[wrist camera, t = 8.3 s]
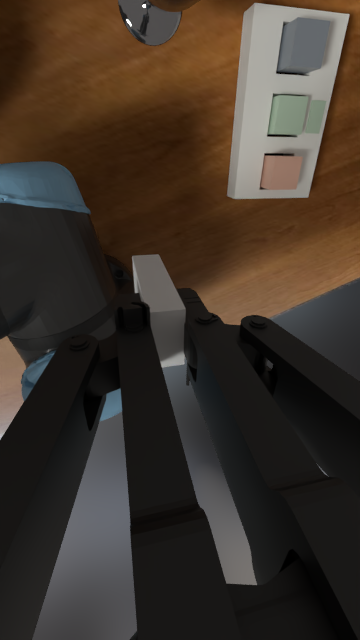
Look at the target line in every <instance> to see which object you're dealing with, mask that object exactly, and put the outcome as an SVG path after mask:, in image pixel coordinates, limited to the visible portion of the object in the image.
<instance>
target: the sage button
mask: <svg viewBox="0 0 360 640" xmlns="http://www.w3.org/2000/svg"><path fill="white" fill-rule="evenodd" d="M308 98H309V97H305V96H287V95H278V96H275V97H273V98H272V105H271V112H270V118H269V125H268V132H267V135H301V134H302V129H303V124H304V119H305V114H306V108H307V103H308Z"/></svg>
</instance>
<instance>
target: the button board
mask: <svg viewBox="0 0 360 640" xmlns="http://www.w3.org/2000/svg"><path fill="white" fill-rule="evenodd" d="M349 15H350V14H343V13H335V12H327V11H319V10H310V9H302V8H294V7H286V6H278V5H269V4H261V3H254V4H253V5H252V6H251V7H250V8H249V9H248V10H246V11H245V12H244V17H243V27H242V38H241V49H240V60H239V71H238V82H237V93H236V104H235V114H234V125H233V136H232V147H231V158H230V169H229V180H228V190H227V196H229V197H231V198H233V199H260V198H308V196H309V192H310V187H311V183H312V179H313V174H314V170H315V165H316V161H317V157H318V152H319V148H320V143H321V139H322V134H323V130H324V126H325V121H326V117H327V112H328V108H329V104H330V99H331V95H332V90H333V86H334V81H335V77H336V73H337V68H338V64H339V59H340V55H341V51H342V46H343V42H344V37H345V33H346V28H347V24H348V20H349ZM297 17H301V18H310V19H318V20H327V21H331V22H330V27H329V31H328V36H327V41H326V46H325V51H324V56H323V61H322V66H321V69H318V70H315V71H312V72H309V73H306V74H302V73H297V75H287V74H276V70H277V63H278V56H279V49H280V42H281V35H282V28H283V26H285V25H287V24H288V23H290V22H291V21H293V20H294V19H296V18H297ZM278 95H287V96H305V97H309V98H308V103H307V108H306V114H305V119H304V124H303V129H302V134H301V135H287V137H267V132H268V125H269V118H270V112H271V105H272V98H273V97H275V96H278ZM264 153H284V154H283V156H300V157H303V159H302V164H301V169H300V174H299V179H298V183H297V188H296V189H293V190H269V189H265V188H262V187H260V181H261V174H262V167H263V160H264Z"/></svg>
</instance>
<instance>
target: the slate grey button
mask: <svg viewBox="0 0 360 640" xmlns="http://www.w3.org/2000/svg"><path fill="white" fill-rule="evenodd" d="M330 22H331V21H327V20H318V19H310V18H301V17H297V18H296V19H294V20H293V21H291V22H290V23H288V24H287V25H285V26H283V28H282V35H281V42H280V49H279V56H278V63H277V70H276V72H288V73H302V74H306V73H309V72H312V71H315V70H318V69H321V66H322V61H323V56H324V51H325V46H326V41H327V36H328V31H329V27H330Z"/></svg>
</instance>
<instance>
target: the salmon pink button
mask: <svg viewBox="0 0 360 640" xmlns="http://www.w3.org/2000/svg"><path fill="white" fill-rule="evenodd" d="M302 159H303V157H300V156H267V155H264V160H263V167H262V174H261V181H260V187H262V188H265V189H269V190H293V189H296V188H297V183H298V179H299V174H300V169H301V164H302Z"/></svg>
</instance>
